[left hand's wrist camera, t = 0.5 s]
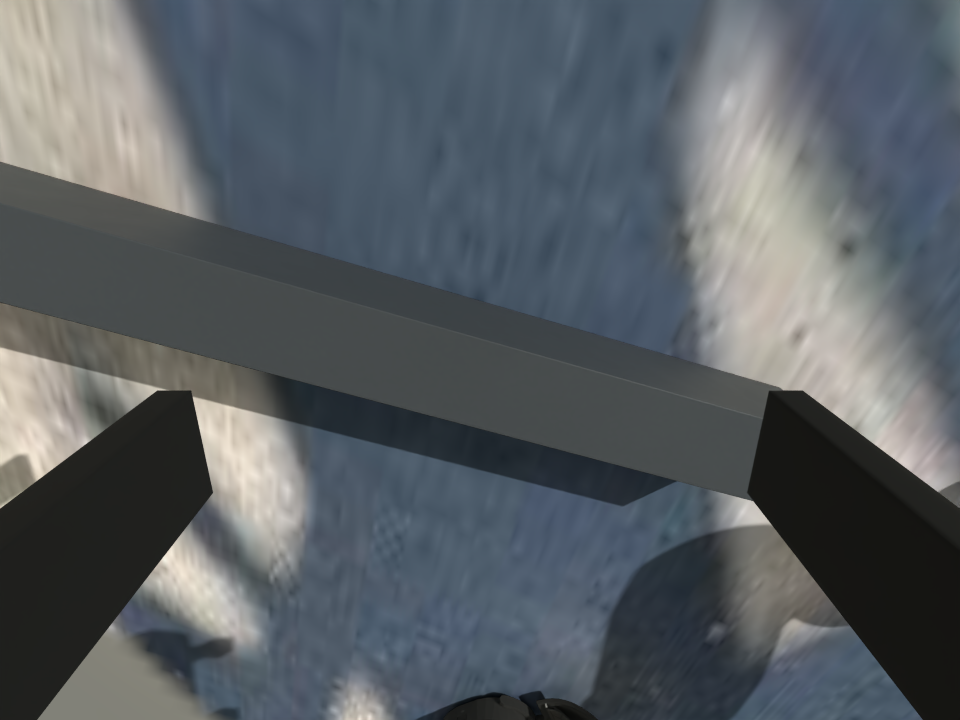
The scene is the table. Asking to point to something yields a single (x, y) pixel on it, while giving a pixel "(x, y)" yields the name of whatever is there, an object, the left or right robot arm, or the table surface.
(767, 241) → the table surface
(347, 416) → the table surface
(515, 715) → the headphones
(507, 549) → the table surface
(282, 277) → the bar
